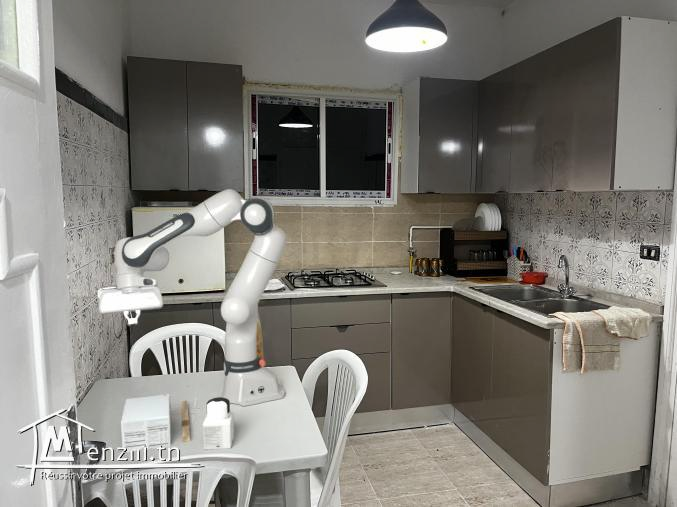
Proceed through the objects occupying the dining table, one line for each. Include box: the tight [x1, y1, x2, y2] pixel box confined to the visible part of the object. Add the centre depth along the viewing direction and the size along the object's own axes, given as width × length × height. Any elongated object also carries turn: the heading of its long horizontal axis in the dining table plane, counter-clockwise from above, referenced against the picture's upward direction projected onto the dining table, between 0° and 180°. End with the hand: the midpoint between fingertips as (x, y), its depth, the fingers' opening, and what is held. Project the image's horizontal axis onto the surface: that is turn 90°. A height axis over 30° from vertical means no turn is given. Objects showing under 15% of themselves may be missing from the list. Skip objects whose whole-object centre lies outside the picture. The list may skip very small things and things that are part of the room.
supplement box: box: [120, 393, 172, 453], centre depth 149 cm, size 17×13×9 cm
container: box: [202, 396, 235, 450], centre depth 145 cm, size 8×8×13 cm
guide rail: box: [180, 400, 191, 443], centre depth 159 cm, size 2×26×2 cm, turn 18°
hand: (133, 324), depth 169 cm, fingers closed
